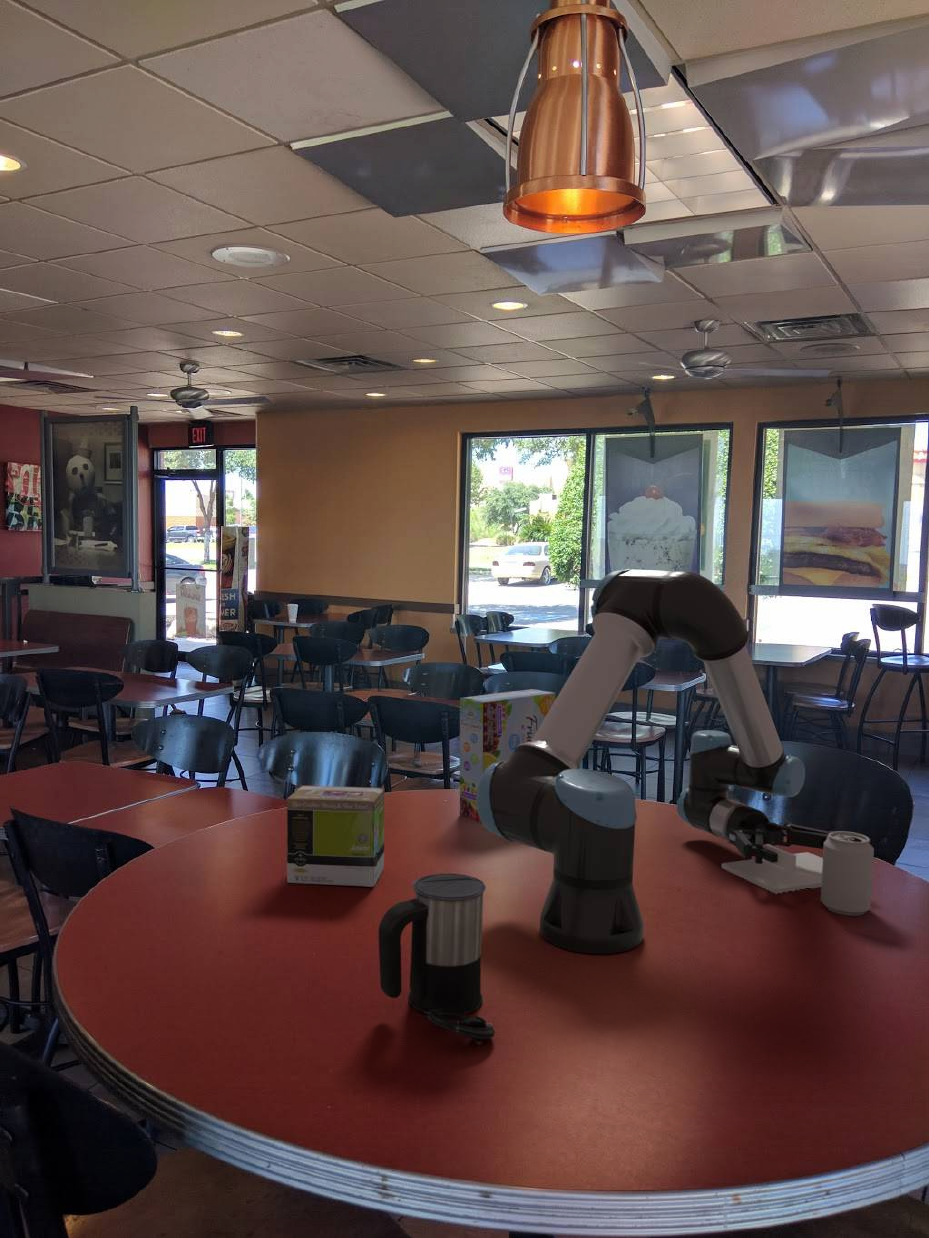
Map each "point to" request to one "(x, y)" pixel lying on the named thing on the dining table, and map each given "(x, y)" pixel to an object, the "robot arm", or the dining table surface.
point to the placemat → (780, 873)
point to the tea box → (335, 835)
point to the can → (847, 873)
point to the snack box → (495, 734)
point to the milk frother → (439, 951)
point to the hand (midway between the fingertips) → (826, 859)
